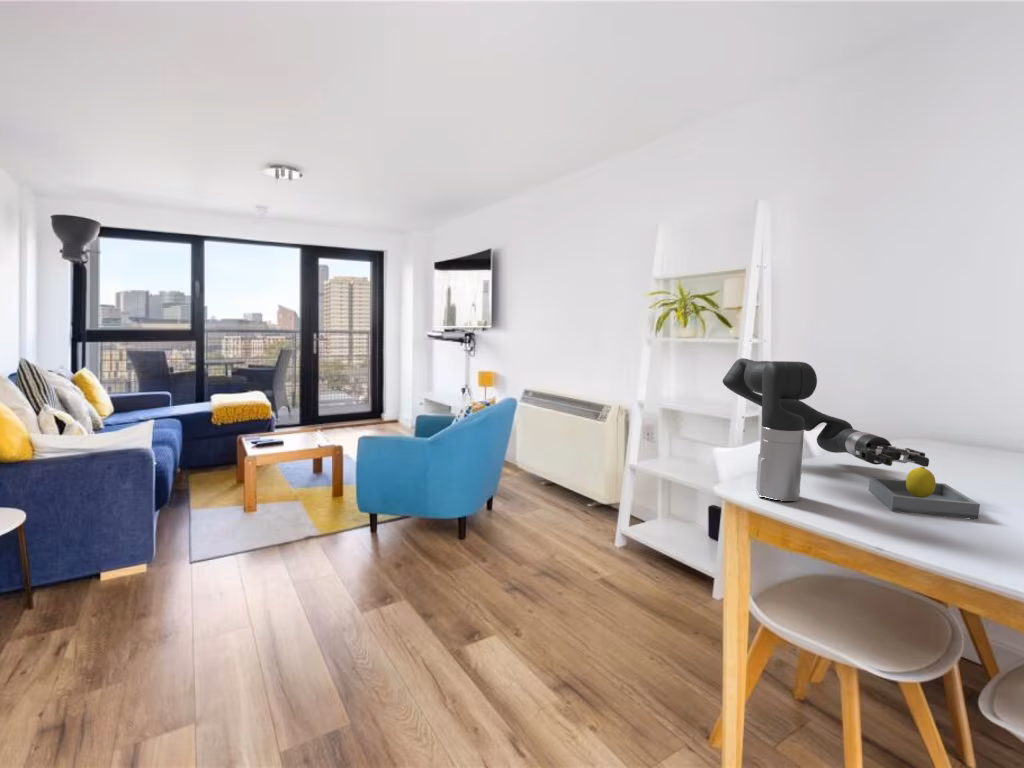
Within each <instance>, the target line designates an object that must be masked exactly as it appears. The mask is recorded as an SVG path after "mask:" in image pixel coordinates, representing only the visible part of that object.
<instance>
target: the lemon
mask: <svg viewBox="0 0 1024 768" xmlns="http://www.w3.org/2000/svg"><path fill="white" fill-rule="evenodd" d="M934 475H935V474H933V472H932V471H930V470H929V469H927V468H925V467H924V466H919V467H916V468H913V469H911V470H910V471H909V472H908V474H907V476H906V478H905V479H906V487H907V490H908V491H909V493H910V494H912V495H913V496H915V497H919V498H925V497H928V496H930V495H931V494H932V493H933V492H934V490H935V486H936V483H937V482H936V478H935V476H934Z"/></svg>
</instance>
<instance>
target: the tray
mask: <svg viewBox="0 0 1024 768" xmlns="http://www.w3.org/2000/svg"><path fill="white" fill-rule="evenodd" d="M868 483H869V484H868V492H869V493H871V494H872V495H873V496H874V498H876V499H877V500H878V501H880V502H881V503H882V504H883V505H884V506H885V507H886V508H888V510H890V511H891V512H896V513H905V514H906V513H907V514H914V515H916V514H917V515H927V516H936V517H944V516H945V518H947V517H948V518H954V517H955V518H956V519H964V518H970V519H969V520H974V519H978V520H979V516H980V509H981V508H980V506H981V504H980V503H978V502H977V501H975V500H973V499H972V498H970V497H968V496H967V495H965V494H963V493H961V492H960V491H959V490H956V489H954V487H951V486H950V485H948V484H946V483H942V482H941V483H940V482H936V486H935V490H934V492H933V493H932V494H931V495H930V496H928V497H925V498H919V497H915V496H913V495H912V494H910V493H909V491H908V490H907V487H906V480H904V479H892V478H881V477H869V479H868Z"/></svg>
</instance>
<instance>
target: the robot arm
mask: <svg viewBox="0 0 1024 768" xmlns="http://www.w3.org/2000/svg"><path fill="white" fill-rule="evenodd" d="M722 383H723V385H724V387H725V388H727V389H728V390H730V391H731V392H733V393H734V394H737V395H738V396H740V397H742V398H744V399H745V400H747V401H749V402H752V403H753V404H755V405H758V406H760V407H761V426H760V429H761V430H760V432H761V433H760V444H759V445H760V446H759V447H760V448H759V453H758V455H757V467H756V468H757V471H756V487H755V490H756V489H757V491H758V493H759V495H761V496H766V497H769V498H773V499H777V500H782V501H794V502H797V501H799V500H800V496H801V494H800V493H801V479H802V464H803V452H804V451H803V449H804V435H805V431H806V432H811V431H812V430H814V429H815V428H817V426H819V425H820V424H823V423H825V425H824V427H823V428H822V429H821V431H820V432H819V434H818V435H817V437H816V443H817V445H818V446H819V447H820V448H821V449H823V450H824V451H826V452H829V453H835V454H839V453H840V454H841V453H847V454H849V455H851V456H853V457H855V458H857V459H859V460H862V461H864V462H867V463H869V464H871V465H877V466H878V465H885V466H887V467H891V466H892V465H893V462H894V463H895V462H896V463H901V464H907V463H911V464H916V465H918V466H920V467H924V468H925V467H926V468H928V467H929V465H930V458H929V457H926V453H925V452H922V451H919V450H915V449H912V448H909V447H907V448H900V447H897V446H893V445H892V444H891V442H890V441H889V440H888V439H887V438H885V437H881V436H878V435H876V434H874V433H873V434H872V433H869V432H865V431H860V430H858V429H857V430H856V429H854V428H853V425H852V424H851V423H850V422H849V421H847V420H844V419H841V418H839V417H834V416H831V415H829V414H827V413H826V414H825V413H823V412H821V411H819V410H817V409H815V408H813V407H812V406H810V405H809V404H807V403H805V402H803V401H802V400H807V399H808V398H810V397H811V396H812V395H813V394H814V393H815V391H816V389H817V386H818V377H817V374H816V371H815V369H814V367H812V365H811V364H809V363H807V362H804V361H782V360H781V361H777V360H776V361H772V360H771V361H769V360H759V361H758V360H753V359H749V358H742V357H741V358H739V359H737V360H736V361H735V362H734V363H733V365H732V366H731V367H730V369H729V370H728V372H727V373H726V374H725V376H724V377H723V379H722ZM901 456H903V459H901ZM757 491H756V492H757ZM782 501H781V502H782Z"/></svg>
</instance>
